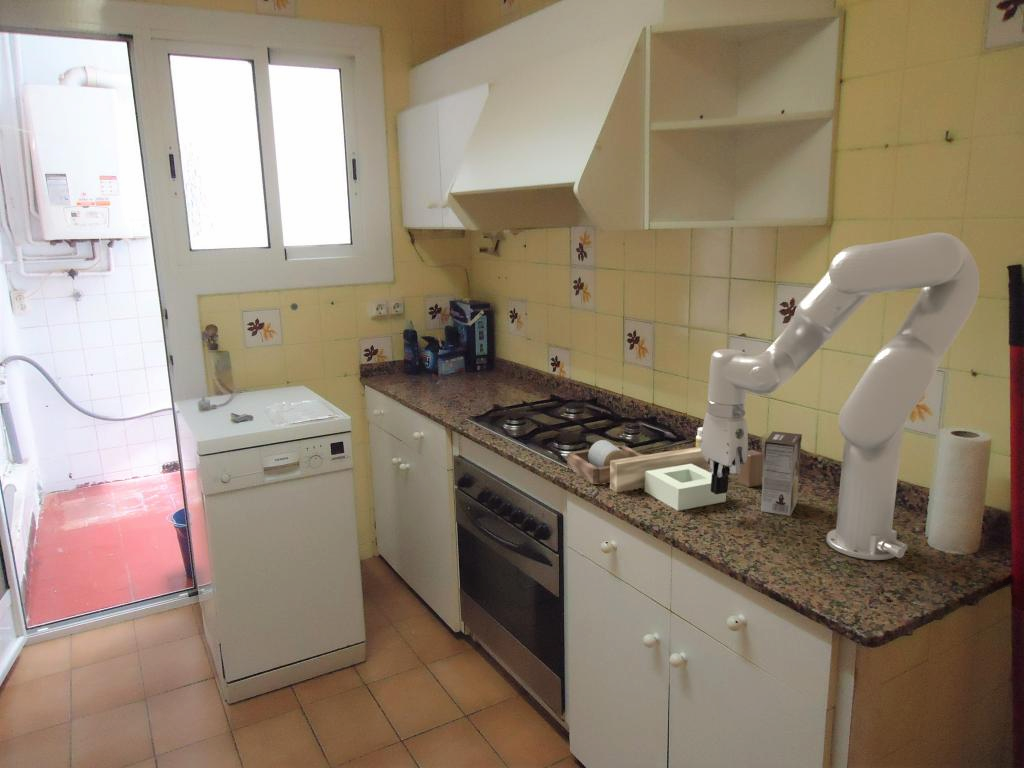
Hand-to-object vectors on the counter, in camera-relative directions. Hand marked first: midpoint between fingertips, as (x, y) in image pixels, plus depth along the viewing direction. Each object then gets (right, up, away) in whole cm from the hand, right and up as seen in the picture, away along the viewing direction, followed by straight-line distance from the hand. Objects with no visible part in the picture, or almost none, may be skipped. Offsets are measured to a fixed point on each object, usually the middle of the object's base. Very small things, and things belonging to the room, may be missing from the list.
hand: (718, 492), depth 152 cm
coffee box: (+15, -4, +6) cm, 16 cm away
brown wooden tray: (-19, +1, +30) cm, 35 cm away
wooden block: (+13, -1, +20) cm, 24 cm away
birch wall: (-8, -1, +21) cm, 23 cm away
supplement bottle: (+7, +3, +38) cm, 39 cm away
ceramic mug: (-19, 0, +30) cm, 35 cm away
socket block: (-4, -3, +12) cm, 13 cm away
